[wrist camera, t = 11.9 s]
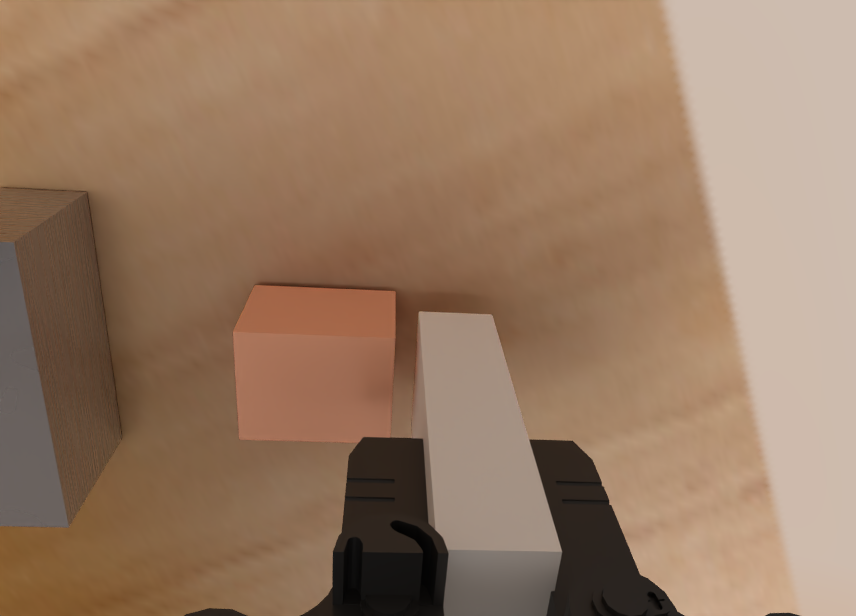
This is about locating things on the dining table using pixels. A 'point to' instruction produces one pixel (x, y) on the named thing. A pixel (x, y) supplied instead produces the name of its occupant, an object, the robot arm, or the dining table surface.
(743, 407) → the dining table surface
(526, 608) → the robot arm
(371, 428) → the tab
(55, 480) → the tongs base
